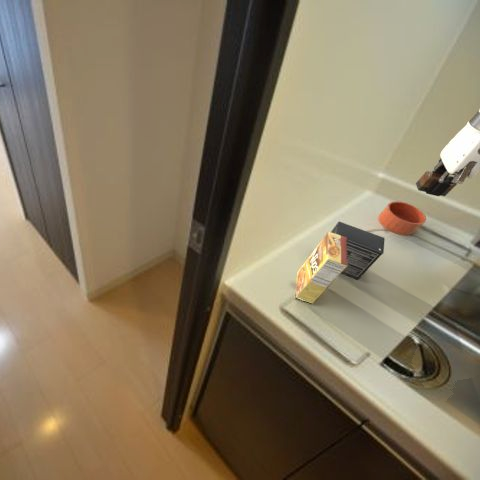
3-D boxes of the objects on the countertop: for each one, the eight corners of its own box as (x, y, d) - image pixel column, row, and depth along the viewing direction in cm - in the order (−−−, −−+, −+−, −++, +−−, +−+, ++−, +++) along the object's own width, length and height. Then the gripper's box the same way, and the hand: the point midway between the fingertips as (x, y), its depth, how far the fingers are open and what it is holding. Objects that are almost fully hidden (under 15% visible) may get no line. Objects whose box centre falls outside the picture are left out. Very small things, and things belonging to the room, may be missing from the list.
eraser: (441, 189, 85) (453, 176, 82) (444, 196, 83) (457, 184, 80) (415, 183, 86) (426, 170, 83) (418, 190, 84) (429, 177, 81)
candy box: (296, 272, 83) (326, 230, 71) (314, 277, 82) (347, 236, 70) (293, 299, 77) (326, 258, 66) (312, 305, 76) (349, 265, 65)
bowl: (411, 217, 98) (422, 206, 95) (417, 239, 92) (429, 228, 89) (376, 209, 100) (385, 197, 97) (380, 229, 94) (390, 218, 91)
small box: (360, 263, 85) (386, 236, 77) (358, 280, 81) (384, 254, 74) (318, 246, 89) (339, 219, 81) (314, 262, 85) (335, 235, 77)
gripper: (529, 146, 65) (455, 213, 78) (499, 111, 75) (439, 175, 89) (485, 138, 66) (420, 205, 80) (461, 104, 77) (408, 169, 90)
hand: (430, 189), depth 84 cm, fingers closed on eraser, 3 cm apart
